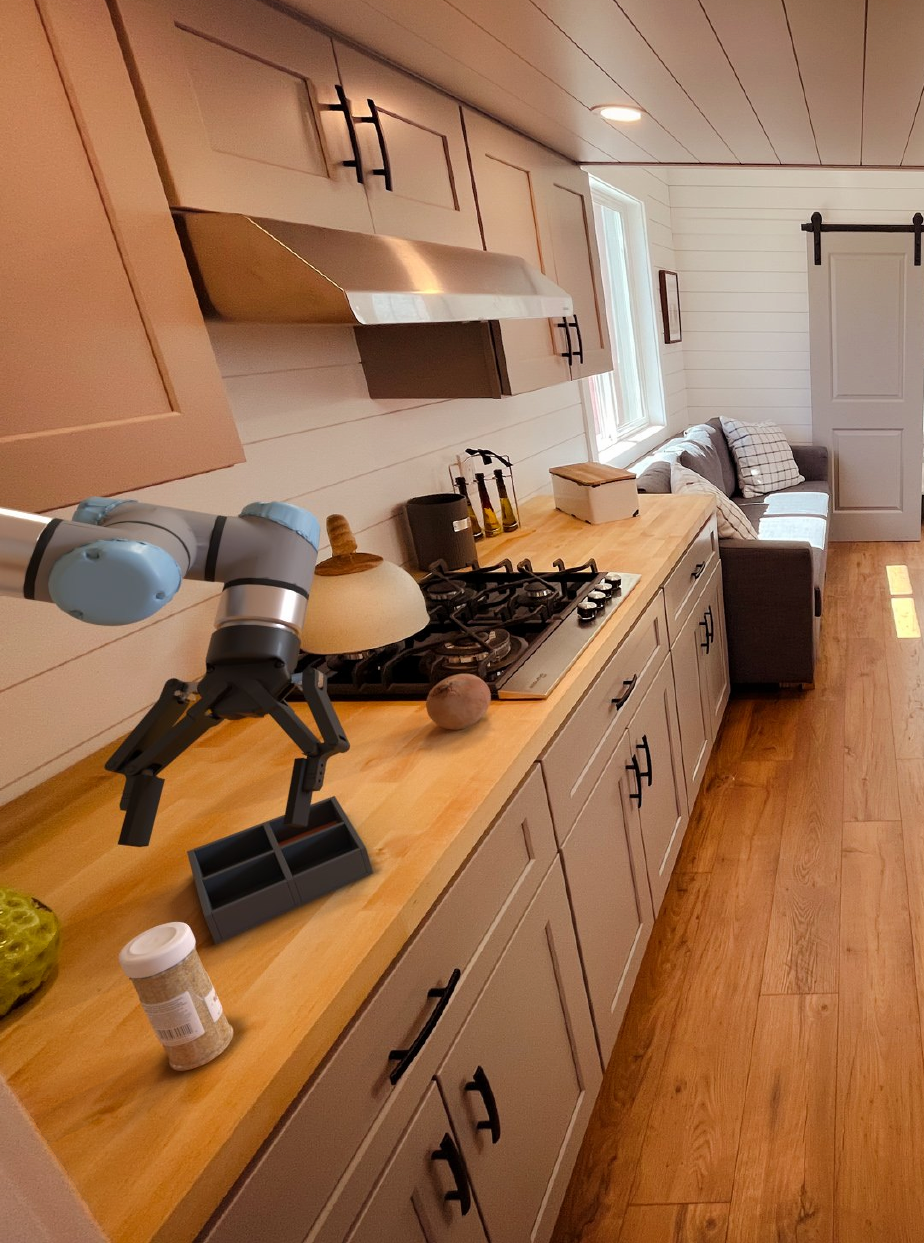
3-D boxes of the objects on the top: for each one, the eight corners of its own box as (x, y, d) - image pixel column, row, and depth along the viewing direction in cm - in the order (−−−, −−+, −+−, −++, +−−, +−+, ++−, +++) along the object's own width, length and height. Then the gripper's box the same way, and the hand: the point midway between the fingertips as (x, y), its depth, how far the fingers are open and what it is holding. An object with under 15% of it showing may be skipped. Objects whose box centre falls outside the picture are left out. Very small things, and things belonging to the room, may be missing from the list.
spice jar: (247, 1027, 68) (203, 919, 63) (204, 1074, 64) (154, 962, 59) (200, 1026, 68) (153, 918, 64) (154, 1073, 64) (100, 961, 59)
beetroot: (455, 751, 118) (421, 718, 110) (438, 716, 123) (405, 682, 116) (509, 717, 121) (480, 683, 114) (491, 685, 127) (462, 650, 119)
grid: (215, 945, 77) (204, 917, 76) (197, 877, 86) (186, 851, 85) (373, 873, 87) (366, 847, 86) (342, 819, 97) (334, 795, 95)
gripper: (399, 637, 84) (376, 822, 75) (149, 655, 78) (94, 857, 70) (369, 612, 77) (340, 812, 69) (93, 631, 72) (25, 850, 63)
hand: (215, 835), depth 69 cm, fingers open, 13 cm apart
